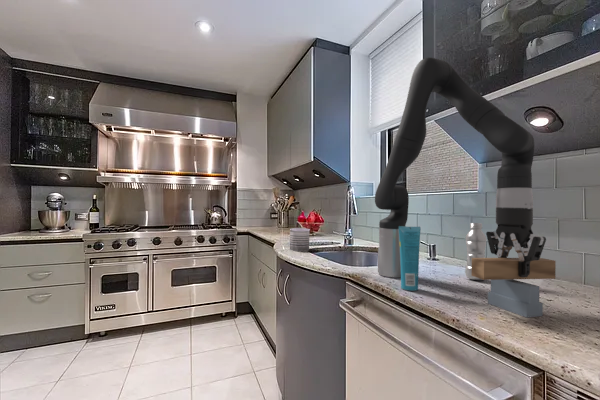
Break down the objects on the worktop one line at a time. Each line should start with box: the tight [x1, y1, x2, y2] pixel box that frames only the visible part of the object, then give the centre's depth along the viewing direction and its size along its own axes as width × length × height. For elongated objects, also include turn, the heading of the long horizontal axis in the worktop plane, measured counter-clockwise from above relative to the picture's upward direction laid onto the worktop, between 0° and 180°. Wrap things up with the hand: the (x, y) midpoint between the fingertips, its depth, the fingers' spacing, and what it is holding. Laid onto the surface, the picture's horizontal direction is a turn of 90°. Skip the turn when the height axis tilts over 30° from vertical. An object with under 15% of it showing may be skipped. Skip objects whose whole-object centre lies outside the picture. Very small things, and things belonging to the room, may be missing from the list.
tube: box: [399, 225, 421, 292], centre depth 88 cm, size 7×5×19 cm, turn 107°
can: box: [289, 227, 311, 252], centre depth 163 cm, size 11×11×12 cm
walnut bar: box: [472, 257, 557, 281], centre depth 72 cm, size 4×20×4 cm, turn 98°
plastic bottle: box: [464, 222, 487, 281], centre depth 101 cm, size 6×7×20 cm
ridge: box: [487, 279, 544, 318], centre depth 72 cm, size 10×5×7 cm, turn 15°
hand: (513, 274), depth 72 cm, fingers closed on walnut bar, 4 cm apart
